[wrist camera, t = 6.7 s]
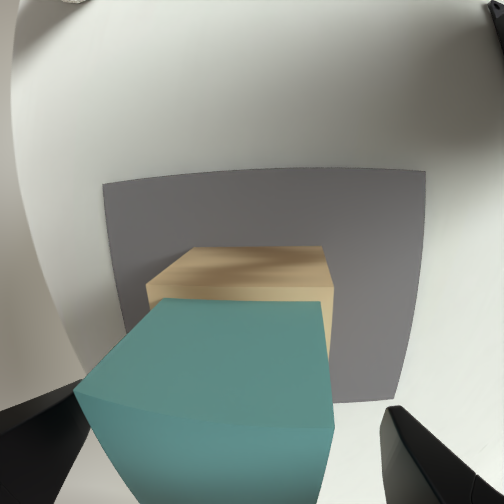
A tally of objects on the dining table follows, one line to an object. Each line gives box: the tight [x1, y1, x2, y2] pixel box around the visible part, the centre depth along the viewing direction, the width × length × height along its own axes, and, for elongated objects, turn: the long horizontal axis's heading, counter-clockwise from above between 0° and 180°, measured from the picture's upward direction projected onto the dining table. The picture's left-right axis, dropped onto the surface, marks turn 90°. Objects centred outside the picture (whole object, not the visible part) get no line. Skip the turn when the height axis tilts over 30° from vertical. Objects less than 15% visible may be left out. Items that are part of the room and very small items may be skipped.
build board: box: [103, 168, 426, 403], centre depth 15 cm, size 16×13×1 cm
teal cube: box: [73, 298, 335, 504], centre depth 7 cm, size 5×5×5 cm
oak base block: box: [146, 246, 334, 361], centre depth 12 cm, size 6×6×5 cm
